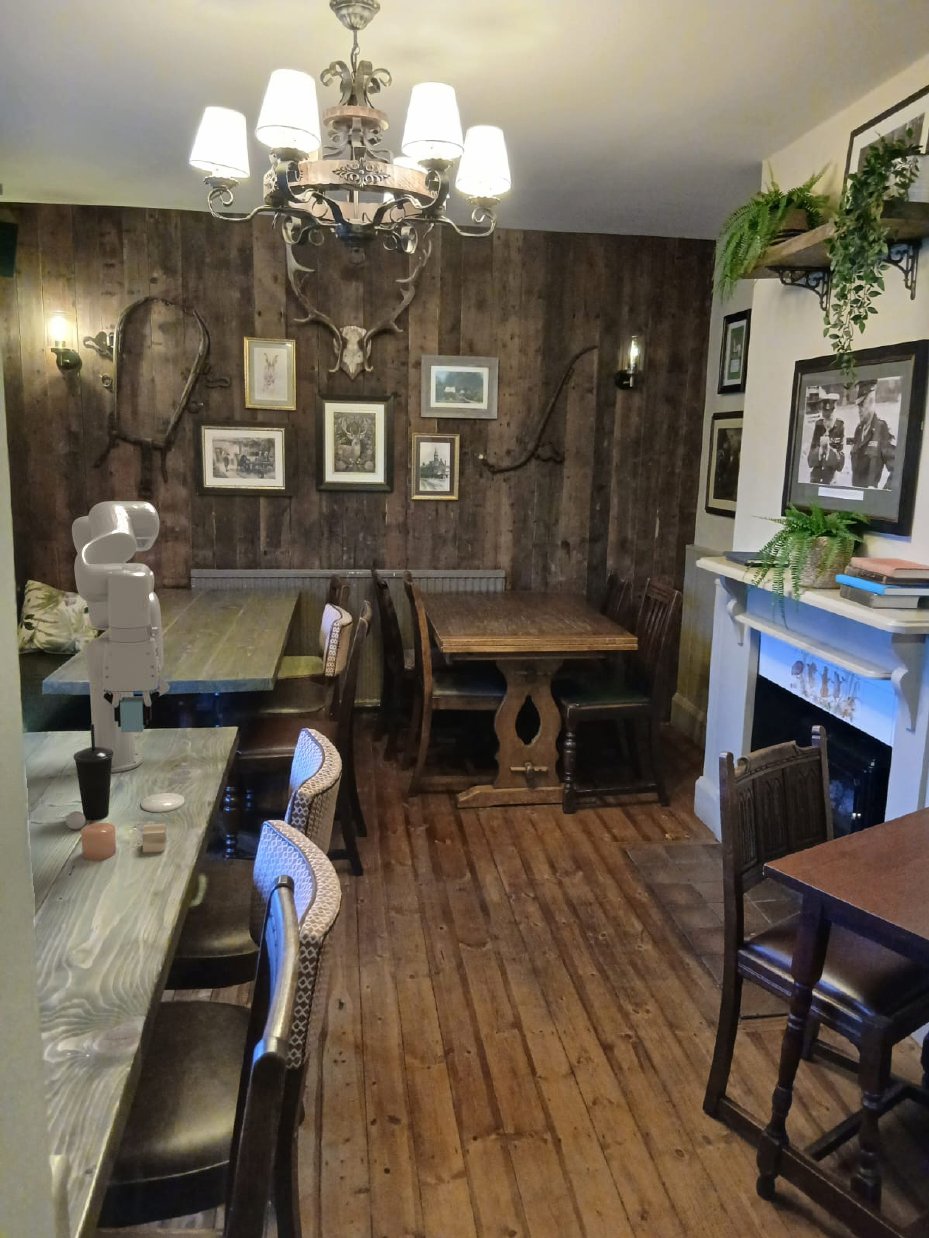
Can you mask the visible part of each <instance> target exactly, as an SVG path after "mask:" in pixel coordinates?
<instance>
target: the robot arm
mask: <svg viewBox="0 0 929 1238" xmlns="http://www.w3.org/2000/svg"><path fill="white" fill-rule="evenodd" d="M159 531H160V518H159V513H158V511H157V509H156V508H155V506H154V505H153V504H152V503H150V502H148V501H137V500H135V501H132V500H131V501H129V500H127V501H126V500H125V501H123V500H120V501H118V500H117V501H116V500H109V501H102V502H99V503H97V504H95V505H94V506H92V508H91V509H90V511H89V512H88V515H86V516H85V515H84V516H80V517H78V518H76V519H75V520H74V521H73V523H72V525H71V536H72V542H73V545H74V548H75V550H76V553H77V554H76V556H75V560H74V577H75V584H76V589H77V592H78V595H79V596H80V598H81V599H82V600H83V601H85V602H87V608H88V609H87V610H88V617H89V621H90V625H91V626H92V627H93V628H94V629H96V630H99V631H100V630H101V631H108V633H109V635H106V636H105V635H104V636H98V637H96V638H95V637H94V638H93V639H91V640H90V641H88V642H87V644H86V645H85V647H84V652H83V655H84V662H85V666H86V671H87V677H88V682H89V683H88V685H89V696H90V711H91V713H90V714H91V724H94V734H95V747H103V748H107V749H110V750H112V751H113V753H114V754H113V757H112V766H111V774H112V773H119V772H126V771H129V770H132V769H135V768H137V767H139V766H140V765H141V764H142V763H143V756H142V754H141V753H139V752H137V751H136V740H135V737H136V735H135V734H136V732H122V733H121V716H120V702H121V699H122V697H134V693H136V692H137V693H138V692H140V693H142V696H143V698H144V705H143V725H144V726H145V727H148V724H149V721H152V704H154V703H155V702H156V701H157V700H158V699H159V697H161V696H162V695H165V693H167V692H169V690H170V685H169V684H168V682H167V681H166V680H165V679H164V677H163V676H162V675H161V672H160V671H161V670H162V667H163V665H164V660H165V659H164V658H165V657H164V644H163V643H164V641H163V628H162V627H163V626H162V625H163V624H162V614H161V613H162V612H161V605H160V600H159V598H158V595H157V594H156V593H155V591H154V589H155V575H154V572H153V571H152V570H151V569H150V567H149V566H148V565H147V564H144V563H141V562H131V563H130V562H128V561H129V560H131V559H132V558H133V557H134V555H135V553H136V552H145V551H148V550H150V549H151V548H152V547H153V545H154V543H155V541H156V539H157V538H158V536H159ZM126 562H127V563H126ZM158 687H159V688H158ZM152 691H153V692H152Z"/></svg>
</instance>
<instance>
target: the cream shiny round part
mask: <svg viewBox="0 0 929 1238" xmlns="http://www.w3.org/2000/svg"><path fill="white" fill-rule="evenodd" d="M184 805H185V797H184V796H183V795H182V794H179V793H176V792H175V793H174V792H161V793H156V794H151V795H149V796H146V797H145V798H143V799H141V802H140V806H141V809H142V810H144V811H146V812H151V813H166V812H168V813H169V812H172V811H175V810H178V809H180V808H182V806H184Z"/></svg>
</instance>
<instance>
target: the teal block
mask: <svg viewBox="0 0 929 1238" xmlns="http://www.w3.org/2000/svg"><path fill="white" fill-rule="evenodd" d="M143 705H144V698H143V695H141V696H138V695H137V696H135V695H134V696H133V697H122V699H121V702H120V716H121V733H122V732H135V733H139V732H140V733H142V732H144V730H145V727H146V726H144V725H143Z"/></svg>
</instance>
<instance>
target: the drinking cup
mask: <svg viewBox="0 0 929 1238" xmlns="http://www.w3.org/2000/svg"><path fill="white" fill-rule="evenodd" d="M90 741H91V742H90V745H91V747H86V748H83V749H82V750H79V751H77V752H75V753H74V754H73V756H72V757H73V760H74V761H75V768H76V773H77V781H78V787H79V796H80V802H81V808H82V813H83V814H84V816H85V820H88V821H99V820H103V819H104V818H108V816H109V814H110V813H109V812H110V797H111V796H110V794H111V793H110V792H111V779H112V773H111V766H112V757H113V754H114V753H113V751H112V750H110V749H107V748H103V747H95V734H94V724H92V723H91V724H90Z"/></svg>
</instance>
